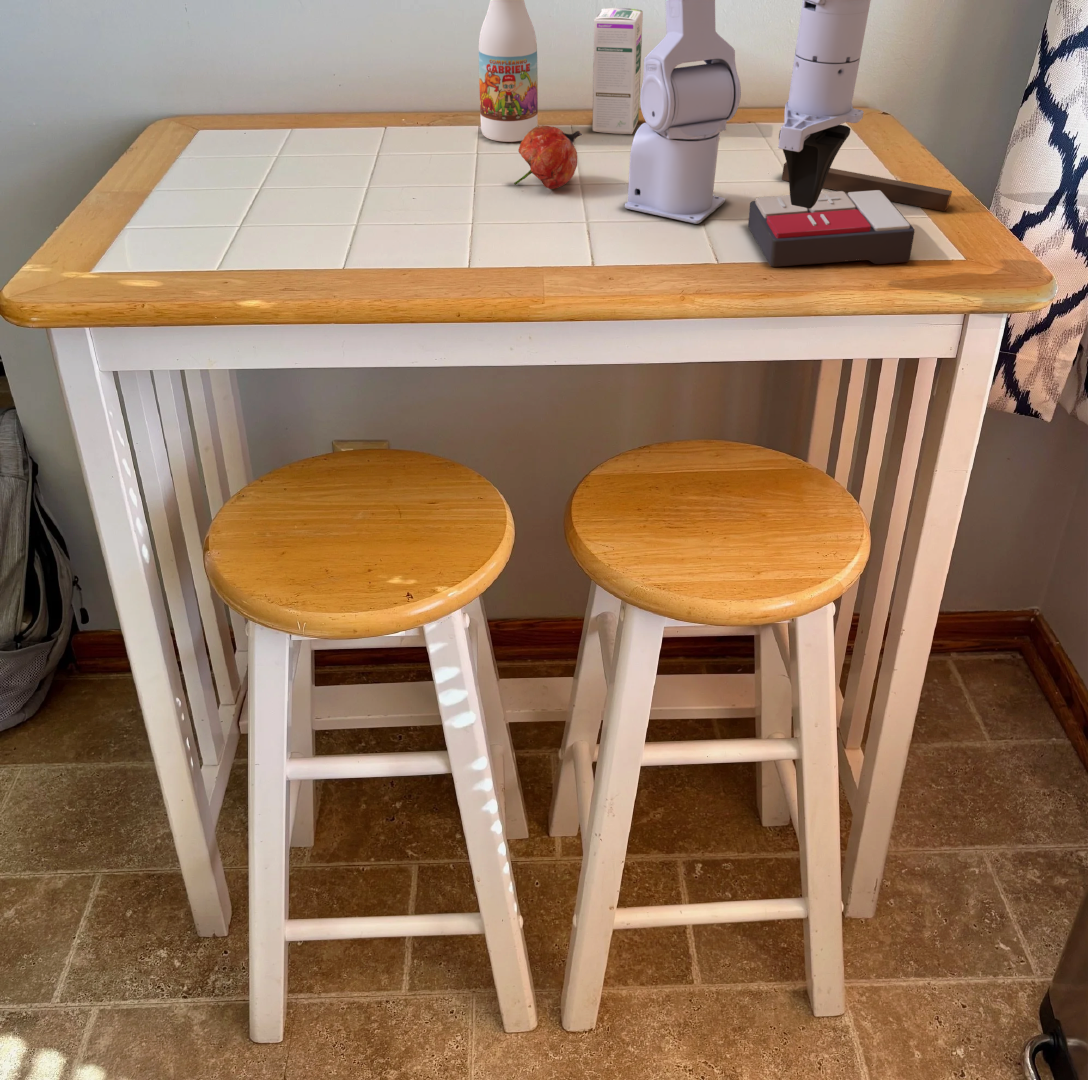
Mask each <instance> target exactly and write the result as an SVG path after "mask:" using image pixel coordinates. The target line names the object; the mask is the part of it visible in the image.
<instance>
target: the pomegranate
mask: <svg viewBox="0 0 1088 1080" xmlns="http://www.w3.org/2000/svg"><path fill="white" fill-rule="evenodd" d="M580 136H583V133H582V132H581V131H579V130H576V131H574V132H572V133H565V132H564V131H563V130H562V129H560V128H558V127H556V126H549V125H543V124H542V125H539V126H538V127H535V128H533V129H532V130H531V131H529V132H528V134H527V135H526V136H525V137H524V139H523V140H522V141H520V144H519V146H518V153H519V154H520V156H521V157H522V158H523V160H524V161H525V162H526V163H527V164H528V166H529V168H530V170H528V172H526V173H525V174H524V175H523V176H522V177H520V178H519V179H518V180H516V181H515V182H514V183H513V185H514V186H517V184H519V183H521V182H522V181H523V180H526V179H527V177H528V176H530V175H531V174H532V175H534V176H535V177H536V178H537V179H538V180H539V181H541V184H542V185H543V187H545V188H547V189H549V190H555V189H558V188H560V187H563V186H564V185H566V184H567V183H569V182H570V180H572V178H573V176H574V175H575V172H576V170H577V167H578V151H577V149H576V147H575V145H574V142H575V140H576V139H577V138H578V137H580Z"/></svg>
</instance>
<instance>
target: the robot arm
mask: <svg viewBox="0 0 1088 1080" xmlns="http://www.w3.org/2000/svg"><path fill="white" fill-rule="evenodd" d="M871 1H872V0H802V3H801V8H800V15H799V24H798V30H797V37H796V44H795V51H794V57H793V64H792V72H791V79H790V85H789V92H788V100H787V101H786V102H785V105H784V111H783V112H784V113H783V114H784V115H783V120H784V121H783V124H782V125H781V126H780V130H779V134H778V146H777V147H778V149H781V150H782V151H783V155H784V158H785V163H786V162H787V167H788V175H789V181H788V189H789V195H790V199H791V205H795V206H800V207H805V208H812V207H813V206H814V205H815V204H816V202H817V200H818V198H819V195H820V193H822V190H823V189H824V188H823V185H824V182H825V179H826V177H827V174H828V172H829V169H830V168H832V164H833V162H834V160H835V159H836V157H837V155H838V153H839V151H840V149H841V148H842V146H843V145H844V143H845V142H846V140H847V139H848V137H849V136H850V134H851V127H849V126H848V125H844V124H845V123H850V124H858V123H860V122H861V121H862V120H863V117H864V113H865V112H864V110H863V109H859V108H854V107H853V106H854V105H853V99H854V94H855V89H856V83H857V77H858V72H859V68H860V67H859V66H860V61H861V55H862V49H863V45H864V39H865V34H866V28H867V22H868V17H869V12H870V7H871V6H870V5H871ZM664 2H665V3H664V4H665V31H666V32H665V33H666V34H665V36H664V37H663V38H662V39H661V40H660V41H659V42H658V43H657V44H656V45H655V46H654V48H652V49H651V51H650V52H649V53H647V55H646V56H645V57H644V59H643V78H642V84H641V86H640V96H639V105H640V110H641V114H642V116H643V119H644V121H645V122H643V123H642V124H641V125H640V126H639V127H638V128H637V130H636V132H635V134H634V136H633V139H632V143H631V147H630V153H629V170H628V187H627V188H628V189H627V201H626V202H624V208H625V209H627V210H630V211H631V210H632V211H636V212H640V213H645V214H650V215H655V216H659V217H663V218H668V219H672V220H677V221H681V222H686V223H691V224H695V225H696V224H700V223H701V222H703V221H704V220H705V219H706V218H707V217H709V216H710V215H711V214H712V213H714V212H715V211H716V210H717V209H718V208H719V207H721V206H722V205H723V204H725V201H726V199H725V198H724V197H722V196H716V195H714V190H715V180H716V171H717V160H718V153H719V152H718V151H719V142H720V135H721V134H720V133H721V132H723V131H727V122H729V121H731V120H732V119H733V118H734V117H735V115H736V113H737V111H738V109H739V106H740V102H741V97H742V87H741V81H740V77H739V74H738V71H737V65H736V50H735V48H734V47H733V46H732V45H730V43H728V41H727V40H725V39H724V38H723V37H722V36H721V35H720V34H718V32H717V31H716V30H717V29H716V0H665V1H664ZM702 61H703V62H704V63H703V64H695V65H688V66H681V67H677V66H679V65H681V64H688V63H694V62H702Z"/></svg>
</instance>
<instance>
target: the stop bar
mask: <svg viewBox="0 0 1088 1080" xmlns="http://www.w3.org/2000/svg"><path fill="white" fill-rule="evenodd" d="M781 180H782V181H785V182H786V181H787V182H789V175H788V167H787V162H786V161H785V162H784V163H783V168H782V173H781ZM822 189H827V190H832V191H843V192H845V193H846V194H848V193H849V192H859V191H872V190H880V191H881V192H883V193H884V194H885V196H886V197H887V198H888V199H889V200H890V201H891V202H892V203H893V202H894V203H898V204H903V205H904V204H905V205H910V206H914V207H918V208H919V207H920V208H923V209H924V208H925V209H929V210H935V211H940V212H946V211H947V209H949V206H950V201H951V197H952V193H953V190H951V189H944V188H940V187H934V186H930V185H929V186H928V185H923V184H918V183H913V182H908V181H901V180H896V179H890V178H885V177H880V176H876V175H871V174H864V173H861V172H860V173H859V172H854V171H848V170H843V169H837V168H833V167H830V169H829V172H828V174H827V177H826V179H825V182H824V185H823V188H822Z"/></svg>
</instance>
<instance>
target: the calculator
mask: <svg viewBox="0 0 1088 1080" xmlns="http://www.w3.org/2000/svg"><path fill="white" fill-rule="evenodd" d="M747 222H748V224H747V226H748V229H749V231H750V232H751V235H752V236H753V238H754V240H755V242H756V244H757V246H758V247H759V250H760V251H761V252H762V254H763V256H764V258H765V259H766V261H767V263H768V266H770V267H771V268H777V267H790V266H802V265H804V266H805V265H817V264H830V263H842V262H843V263H844V262H857V261H869V262H871V263H873V264H874V265H886V264H899V263H907V262H909V261H910V259H911V253H912V250H913V249H912V248H913V242H914V237H915V232H916V230H915V228H914V227H913V225H912V224H911V223H910V222H909V221H908V219H907V218H905V216H904V215H903V214H902V212H900V211H899V209H898V208H897V207H896V206H895V205H894V203H893V201H890V200H889V199H888V198H887V197H886V196H885V194H884V193H883V192H881V191H880V190H872V191H859V192H849V193H847V192H843V191H837V190H835V191H824V192H821V193H820V195H819V198H818V200H817V202H816V204H815V205H814V206H813V207H812V208H805V207H800V206H795V205H791V199H790V194H784V195H783V194H782V195H771V196H758V197H755V200H752V201H750V203H749V211H748V221H747Z"/></svg>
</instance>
